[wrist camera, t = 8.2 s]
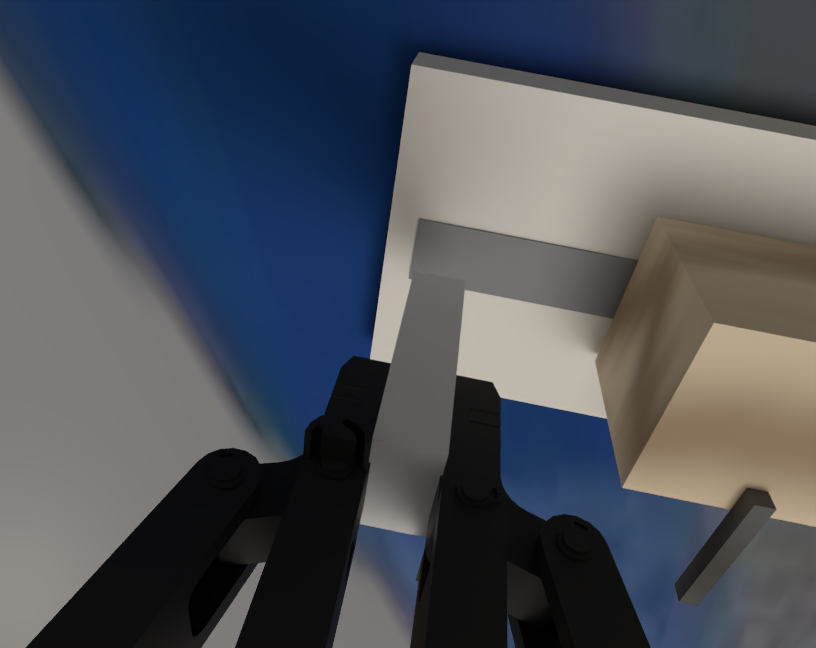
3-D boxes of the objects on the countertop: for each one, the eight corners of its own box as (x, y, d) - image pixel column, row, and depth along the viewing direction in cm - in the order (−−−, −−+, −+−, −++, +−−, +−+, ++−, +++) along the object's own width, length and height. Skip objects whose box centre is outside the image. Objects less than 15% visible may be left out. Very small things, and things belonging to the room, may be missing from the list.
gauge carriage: (657, 216, 18) (721, 337, 13) (973, 276, 18) (1171, 425, 13) (563, 434, 24) (581, 581, 19) (802, 482, 24) (889, 645, 19)
